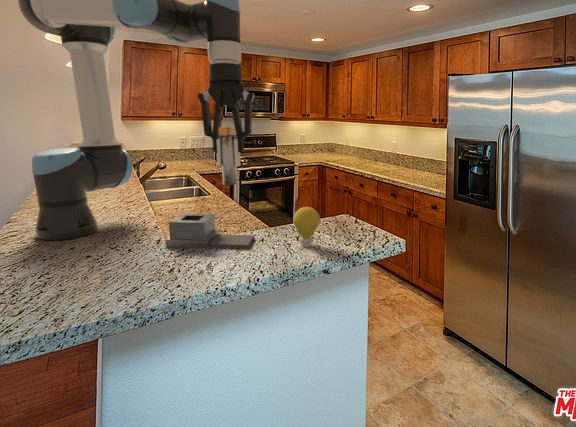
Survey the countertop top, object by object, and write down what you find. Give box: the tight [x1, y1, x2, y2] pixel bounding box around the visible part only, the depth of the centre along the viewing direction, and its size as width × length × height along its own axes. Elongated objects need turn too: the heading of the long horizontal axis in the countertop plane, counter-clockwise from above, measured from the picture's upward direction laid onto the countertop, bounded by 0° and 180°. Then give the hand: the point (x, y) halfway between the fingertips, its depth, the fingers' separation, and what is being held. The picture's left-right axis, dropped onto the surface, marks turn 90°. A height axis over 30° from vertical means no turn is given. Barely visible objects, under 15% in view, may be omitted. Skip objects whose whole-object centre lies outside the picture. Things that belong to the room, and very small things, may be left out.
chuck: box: [164, 212, 221, 250], centre depth 95 cm, size 11×10×6 cm
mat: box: [209, 233, 255, 250], centre depth 95 cm, size 10×8×1 cm
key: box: [218, 126, 238, 186], centre depth 90 cm, size 9×4×14 cm, turn 174°
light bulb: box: [292, 206, 321, 248], centre depth 92 cm, size 7×7×10 cm
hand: (229, 165), depth 90 cm, fingers closed on key, 4 cm apart
